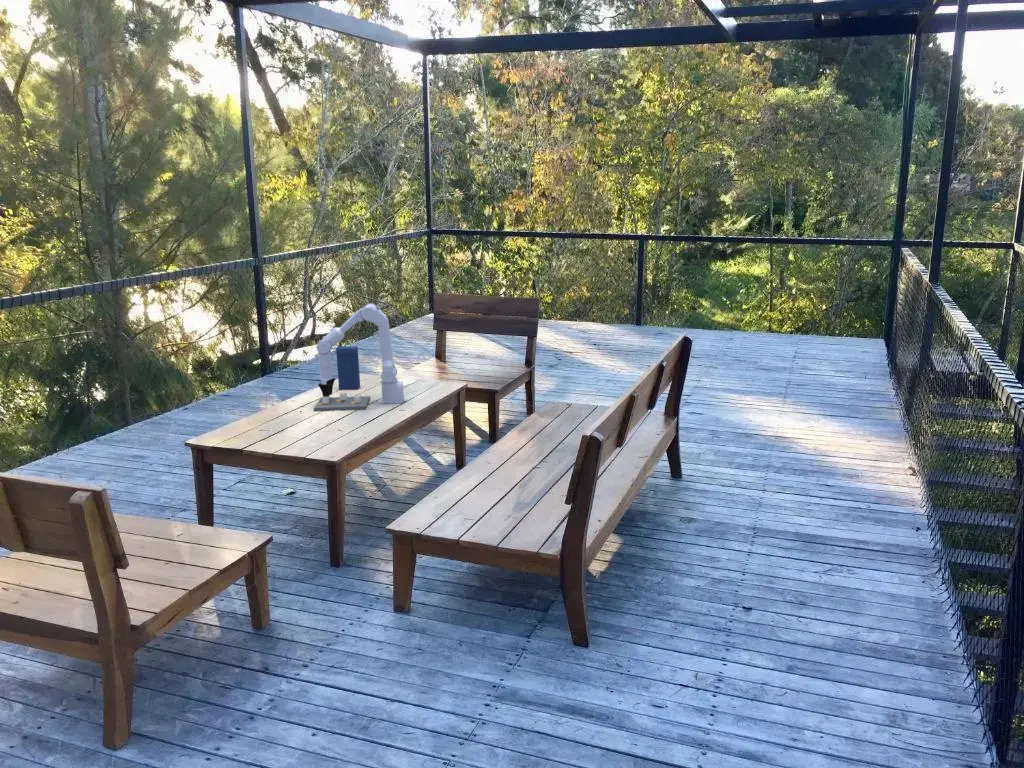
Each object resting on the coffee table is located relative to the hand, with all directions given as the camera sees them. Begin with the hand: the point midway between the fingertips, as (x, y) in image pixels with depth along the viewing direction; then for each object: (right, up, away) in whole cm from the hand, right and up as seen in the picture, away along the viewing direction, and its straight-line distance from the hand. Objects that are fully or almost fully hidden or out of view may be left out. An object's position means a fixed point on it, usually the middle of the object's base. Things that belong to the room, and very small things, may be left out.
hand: (327, 396), depth 391 cm
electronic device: (+4, +3, +28) cm, 29 cm away
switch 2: (+7, -1, -1) cm, 7 cm away
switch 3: (+14, -2, -5) cm, 15 cm away
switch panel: (+7, -4, -3) cm, 9 cm away
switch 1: (0, -2, -6) cm, 6 cm away
